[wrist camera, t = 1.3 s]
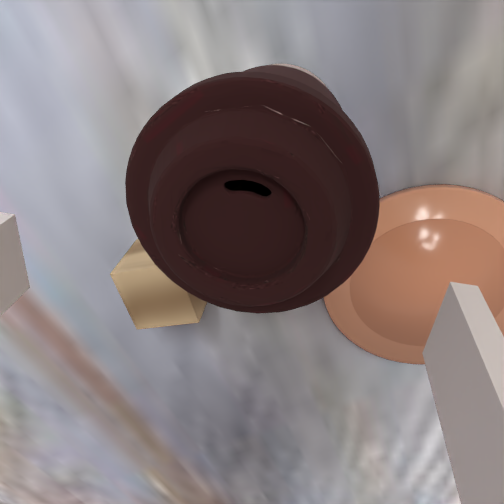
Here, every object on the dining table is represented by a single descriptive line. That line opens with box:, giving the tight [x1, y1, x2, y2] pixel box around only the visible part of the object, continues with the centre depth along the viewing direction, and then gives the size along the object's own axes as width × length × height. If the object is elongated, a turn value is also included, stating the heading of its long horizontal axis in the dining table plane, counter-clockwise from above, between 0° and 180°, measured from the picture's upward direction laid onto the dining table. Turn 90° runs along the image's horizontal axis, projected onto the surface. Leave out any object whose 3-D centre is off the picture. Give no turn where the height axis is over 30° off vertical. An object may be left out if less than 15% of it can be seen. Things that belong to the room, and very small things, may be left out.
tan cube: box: [110, 239, 207, 329], centre depth 33 cm, size 5×5×5 cm
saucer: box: [324, 184, 504, 364], centre depth 32 cm, size 15×15×1 cm
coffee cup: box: [125, 64, 380, 313], centre depth 22 cm, size 10×10×15 cm
